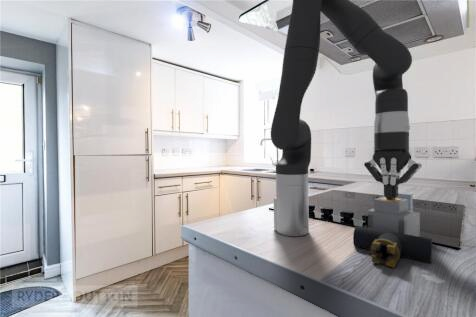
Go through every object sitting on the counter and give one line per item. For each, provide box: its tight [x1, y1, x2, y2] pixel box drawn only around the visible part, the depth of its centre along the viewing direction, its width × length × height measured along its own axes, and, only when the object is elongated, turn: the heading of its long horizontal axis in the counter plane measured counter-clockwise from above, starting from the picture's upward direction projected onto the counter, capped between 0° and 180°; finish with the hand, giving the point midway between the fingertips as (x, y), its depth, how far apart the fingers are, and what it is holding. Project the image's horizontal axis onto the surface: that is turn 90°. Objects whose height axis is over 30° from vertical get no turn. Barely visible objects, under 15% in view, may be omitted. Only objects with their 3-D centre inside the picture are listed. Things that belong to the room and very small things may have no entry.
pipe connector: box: [352, 225, 433, 268], centre depth 56 cm, size 12×5×15 cm
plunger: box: [380, 196, 401, 202], centre depth 64 cm, size 4×4×3 cm
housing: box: [367, 195, 421, 237], centre depth 66 cm, size 8×12×11 cm
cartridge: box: [397, 192, 414, 212], centre depth 67 cm, size 6×12×11 cm, turn 129°
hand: (391, 199), depth 64 cm, fingers closed
